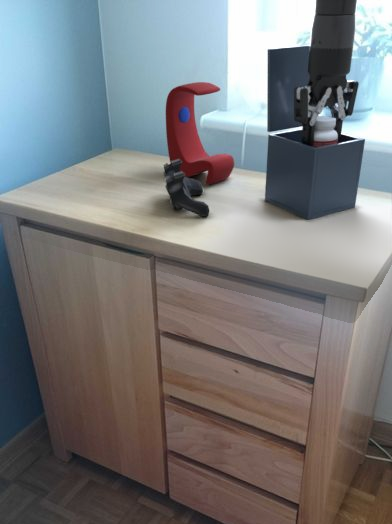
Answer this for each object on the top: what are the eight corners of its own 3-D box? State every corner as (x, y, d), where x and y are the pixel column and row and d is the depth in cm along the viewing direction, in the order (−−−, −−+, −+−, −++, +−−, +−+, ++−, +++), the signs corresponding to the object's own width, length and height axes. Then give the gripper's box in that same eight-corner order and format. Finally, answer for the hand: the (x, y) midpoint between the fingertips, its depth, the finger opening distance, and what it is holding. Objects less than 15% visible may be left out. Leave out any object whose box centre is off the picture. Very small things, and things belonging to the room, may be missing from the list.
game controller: (177, 204, 124) (154, 164, 118) (204, 188, 122) (182, 148, 117) (182, 232, 110) (156, 189, 105) (213, 215, 109) (188, 171, 104)
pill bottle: (339, 179, 110) (346, 119, 103) (313, 183, 108) (319, 123, 101) (320, 170, 114) (327, 113, 108) (295, 175, 112) (300, 116, 106)
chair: (167, 174, 133) (163, 83, 122) (188, 167, 138) (186, 78, 126) (213, 187, 125) (214, 90, 114) (234, 179, 129) (236, 85, 118)
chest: (355, 207, 113) (365, 139, 106) (307, 219, 108) (315, 149, 100) (310, 189, 123) (316, 125, 115) (264, 200, 118) (268, 134, 110)
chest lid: (321, 44, 108) (318, 44, 108) (270, 49, 102) (267, 49, 103) (318, 123, 115) (315, 123, 116) (269, 132, 110) (267, 131, 110)
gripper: (315, 49, 92) (305, 153, 102) (376, 42, 98) (362, 141, 108) (285, 45, 97) (279, 144, 107) (346, 39, 104) (334, 133, 113)
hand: (321, 142), depth 107 cm, fingers closed on pill bottle, 6 cm apart
